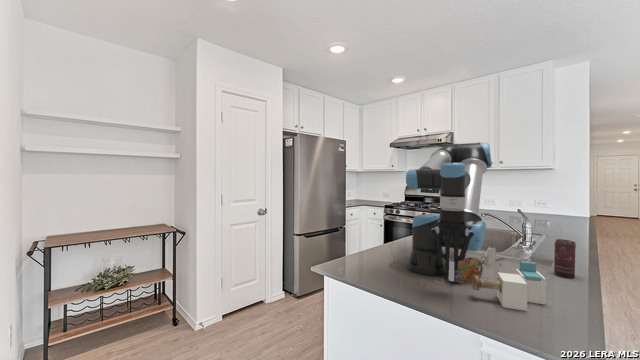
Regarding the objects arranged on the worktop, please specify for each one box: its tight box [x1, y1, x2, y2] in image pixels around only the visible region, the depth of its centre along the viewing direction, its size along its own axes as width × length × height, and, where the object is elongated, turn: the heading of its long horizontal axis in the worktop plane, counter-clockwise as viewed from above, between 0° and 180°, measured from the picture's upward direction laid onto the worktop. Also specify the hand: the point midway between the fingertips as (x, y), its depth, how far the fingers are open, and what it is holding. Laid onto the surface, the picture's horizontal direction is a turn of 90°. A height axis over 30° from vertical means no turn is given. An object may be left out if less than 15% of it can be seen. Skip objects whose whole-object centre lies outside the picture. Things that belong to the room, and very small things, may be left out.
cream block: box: [496, 271, 528, 312], centre depth 86 cm, size 6×8×8 cm
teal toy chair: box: [518, 260, 542, 281], centre depth 89 cm, size 4×7×4 cm, turn 158°
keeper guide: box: [514, 268, 547, 305], centre depth 89 cm, size 6×7×8 cm
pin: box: [471, 275, 502, 291], centre depth 87 cm, size 13×5×5 cm, turn 68°
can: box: [553, 238, 577, 279], centre depth 109 cm, size 6×6×14 cm
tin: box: [453, 257, 483, 285], centre depth 104 cm, size 15×3×8 cm, turn 114°
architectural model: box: [480, 246, 497, 266], centre depth 125 cm, size 3×7×7 cm, turn 118°
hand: (451, 279), depth 92 cm, fingers closed
